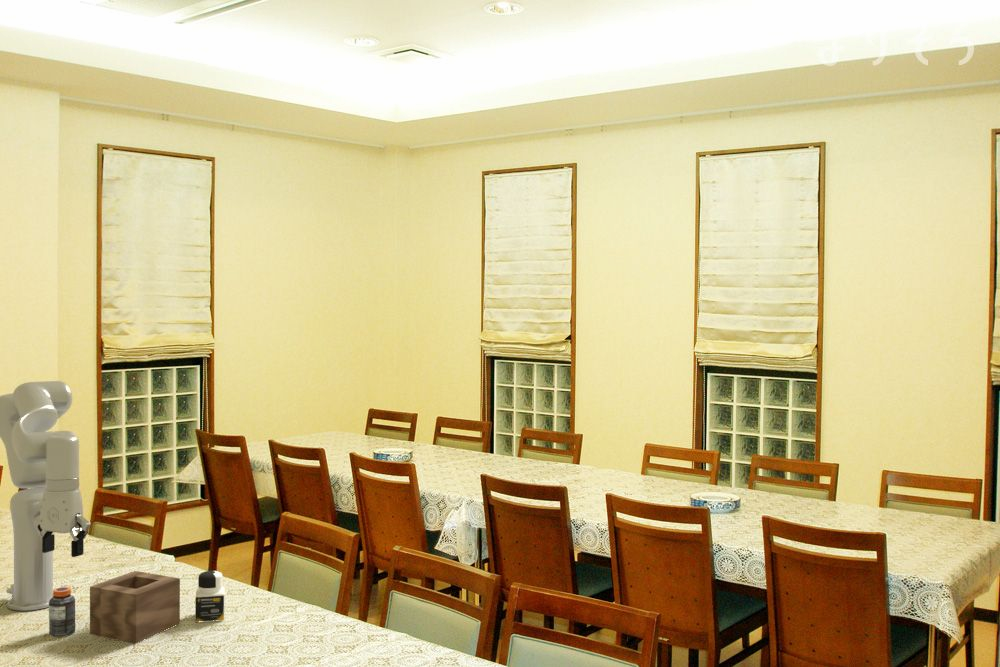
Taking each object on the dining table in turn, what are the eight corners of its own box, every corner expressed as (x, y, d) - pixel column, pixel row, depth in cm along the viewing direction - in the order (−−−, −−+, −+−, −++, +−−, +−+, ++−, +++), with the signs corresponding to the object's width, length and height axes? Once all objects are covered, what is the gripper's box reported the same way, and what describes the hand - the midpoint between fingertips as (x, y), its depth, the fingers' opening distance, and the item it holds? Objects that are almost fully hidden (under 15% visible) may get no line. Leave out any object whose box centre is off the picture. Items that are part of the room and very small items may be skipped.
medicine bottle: (195, 623, 241) (195, 577, 241) (196, 614, 248) (196, 569, 248) (224, 621, 243) (224, 575, 243) (224, 612, 250) (224, 568, 250)
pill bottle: (68, 627, 237) (68, 583, 236) (79, 633, 233) (79, 588, 232) (44, 633, 232) (44, 588, 232) (55, 639, 228) (55, 593, 228)
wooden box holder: (89, 634, 232) (89, 586, 232) (134, 615, 246) (135, 570, 246) (136, 643, 226) (136, 594, 226) (179, 624, 240) (179, 578, 240)
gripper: (24, 484, 231) (24, 553, 231) (76, 490, 224) (76, 561, 225) (49, 479, 238) (49, 546, 238) (100, 485, 231) (101, 553, 232)
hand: (62, 553), depth 231 cm, fingers open, 9 cm apart
